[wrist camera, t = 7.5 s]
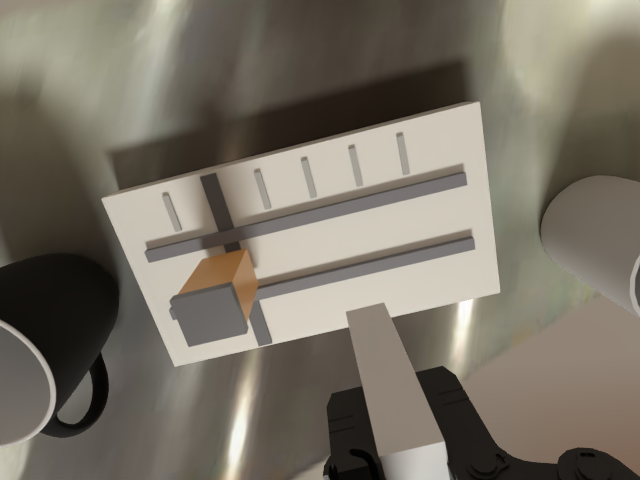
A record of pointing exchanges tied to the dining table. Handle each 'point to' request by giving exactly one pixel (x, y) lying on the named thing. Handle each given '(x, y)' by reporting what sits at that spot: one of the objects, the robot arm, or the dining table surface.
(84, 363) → the mug
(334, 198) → the console
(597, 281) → the cup
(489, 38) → the dining table surface
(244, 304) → the fader cap
